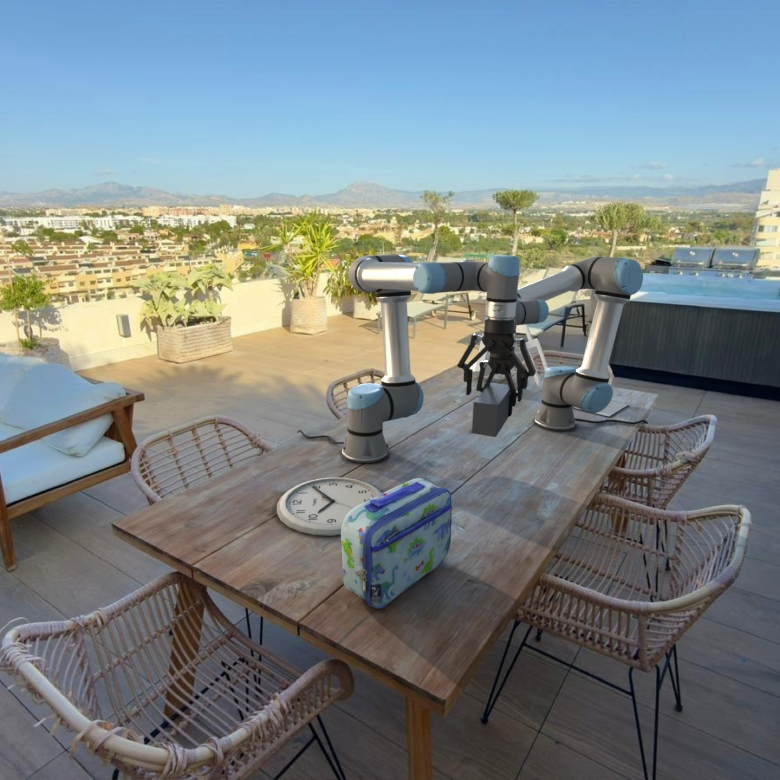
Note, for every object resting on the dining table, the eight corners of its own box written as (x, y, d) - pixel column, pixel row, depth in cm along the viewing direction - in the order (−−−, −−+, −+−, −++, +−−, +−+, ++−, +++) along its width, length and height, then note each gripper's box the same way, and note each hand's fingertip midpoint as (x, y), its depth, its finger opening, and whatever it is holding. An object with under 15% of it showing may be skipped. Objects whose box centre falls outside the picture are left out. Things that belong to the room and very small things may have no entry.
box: (488, 410, 176) (490, 382, 173) (510, 413, 173) (512, 385, 170) (471, 433, 157) (473, 401, 154) (495, 437, 154) (498, 405, 151)
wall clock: (392, 527, 129) (268, 531, 127) (391, 533, 130) (269, 537, 127) (383, 473, 158) (282, 475, 155) (383, 478, 158) (282, 480, 156)
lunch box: (370, 622, 101) (370, 527, 94) (335, 595, 108) (333, 505, 102) (455, 565, 118) (460, 481, 112) (420, 544, 125) (423, 465, 119)
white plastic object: (488, 419, 266) (468, 396, 241) (469, 346, 288) (449, 319, 263) (559, 395, 254) (545, 368, 229) (533, 321, 276) (519, 290, 251)
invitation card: (608, 416, 214) (573, 407, 224) (608, 416, 214) (573, 408, 224) (628, 404, 229) (594, 396, 238) (628, 405, 229) (594, 397, 238)
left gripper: (448, 316, 134) (444, 394, 141) (549, 324, 126) (540, 407, 132) (456, 312, 141) (452, 387, 147) (552, 319, 132) (543, 398, 139)
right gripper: (468, 344, 165) (464, 412, 172) (533, 350, 157) (527, 421, 164) (474, 339, 171) (470, 405, 179) (537, 345, 164) (531, 414, 171)
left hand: (493, 397), depth 140 cm, fingers open, 13 cm apart
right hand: (497, 413), depth 171 cm, fingers closed on box, 7 cm apart
